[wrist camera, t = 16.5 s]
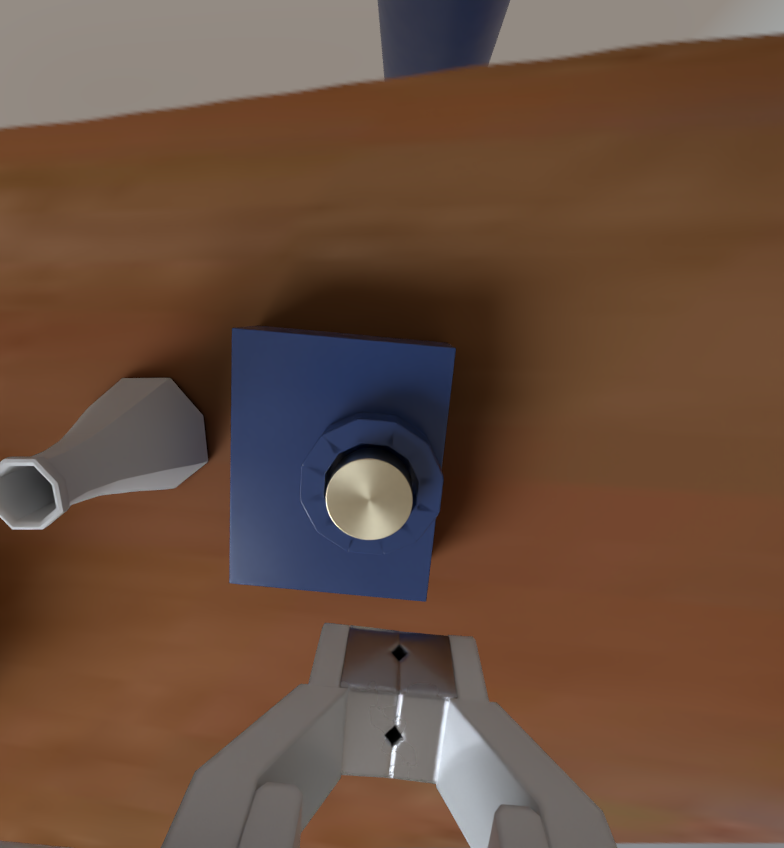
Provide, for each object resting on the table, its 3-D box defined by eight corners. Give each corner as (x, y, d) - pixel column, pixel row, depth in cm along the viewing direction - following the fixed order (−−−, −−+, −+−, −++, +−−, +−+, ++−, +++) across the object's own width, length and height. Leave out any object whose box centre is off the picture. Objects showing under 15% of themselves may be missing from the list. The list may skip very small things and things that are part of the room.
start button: (333, 444, 23) (327, 454, 21) (416, 451, 23) (416, 462, 21) (328, 520, 24) (322, 536, 22) (407, 527, 24) (408, 544, 22)
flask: (229, 469, 29) (141, 547, 20) (125, 503, 30) (-10, 596, 20) (179, 357, 28) (58, 381, 18) (71, 397, 28) (-102, 441, 19)
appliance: (257, 325, 27) (217, 328, 21) (448, 342, 27) (460, 351, 21) (252, 547, 30) (216, 602, 25) (423, 563, 30) (427, 622, 25)
